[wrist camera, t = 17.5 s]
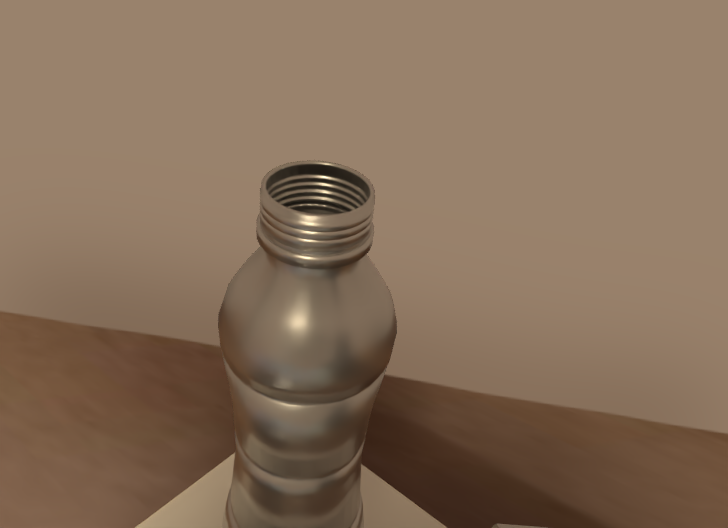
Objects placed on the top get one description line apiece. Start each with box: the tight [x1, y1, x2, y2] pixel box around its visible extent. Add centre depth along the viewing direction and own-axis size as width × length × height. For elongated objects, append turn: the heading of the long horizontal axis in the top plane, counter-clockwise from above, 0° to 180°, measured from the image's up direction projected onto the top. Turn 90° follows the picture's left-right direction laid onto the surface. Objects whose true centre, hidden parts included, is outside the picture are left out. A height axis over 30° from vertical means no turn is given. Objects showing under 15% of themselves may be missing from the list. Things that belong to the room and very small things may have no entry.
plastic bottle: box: [218, 161, 397, 528], centre depth 26 cm, size 6×7×20 cm
